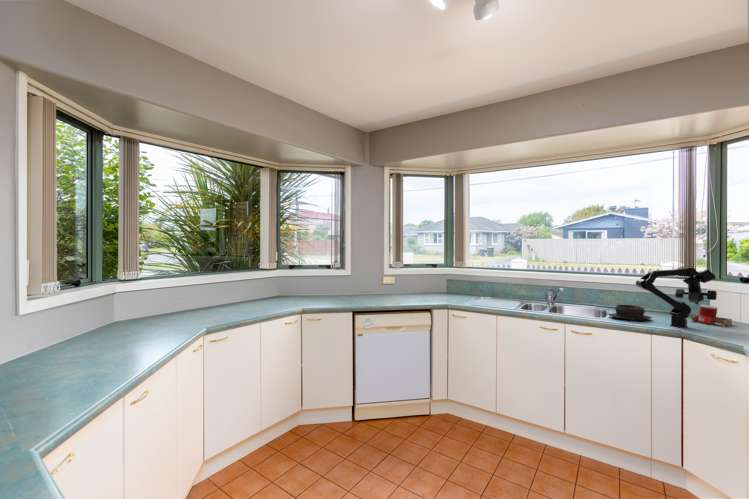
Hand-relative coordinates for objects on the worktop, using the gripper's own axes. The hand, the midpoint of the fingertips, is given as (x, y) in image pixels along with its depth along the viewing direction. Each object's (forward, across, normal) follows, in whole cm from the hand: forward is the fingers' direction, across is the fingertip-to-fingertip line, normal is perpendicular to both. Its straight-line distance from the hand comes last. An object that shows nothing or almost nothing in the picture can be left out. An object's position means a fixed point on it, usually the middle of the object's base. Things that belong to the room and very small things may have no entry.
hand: (697, 303), depth 220 cm
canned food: (+16, +3, -1) cm, 16 cm away
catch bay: (+18, +5, +2) cm, 19 cm away
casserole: (+2, -33, -18) cm, 37 cm away
